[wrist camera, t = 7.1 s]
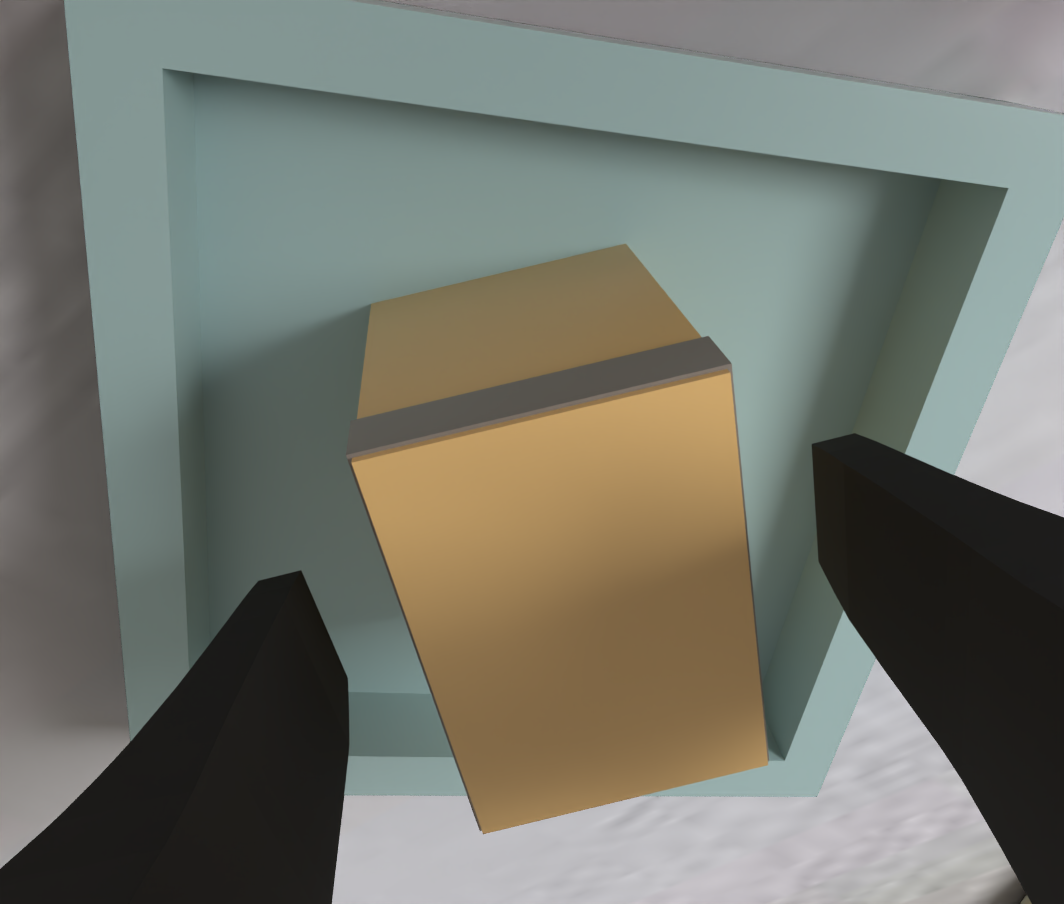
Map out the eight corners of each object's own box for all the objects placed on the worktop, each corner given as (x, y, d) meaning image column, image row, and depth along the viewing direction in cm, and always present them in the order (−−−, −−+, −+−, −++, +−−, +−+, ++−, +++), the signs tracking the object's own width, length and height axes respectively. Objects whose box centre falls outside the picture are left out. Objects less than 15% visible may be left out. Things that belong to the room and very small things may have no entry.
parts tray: (1006, 101, 14) (1104, 122, 12) (777, 716, 20) (817, 796, 18) (119, -42, 11) (60, -46, 9) (165, 703, 17) (135, 794, 15)
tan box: (628, 239, 13) (734, 367, 9) (675, 555, 16) (771, 766, 12) (367, 301, 13) (344, 459, 9) (461, 606, 16) (479, 837, 12)
